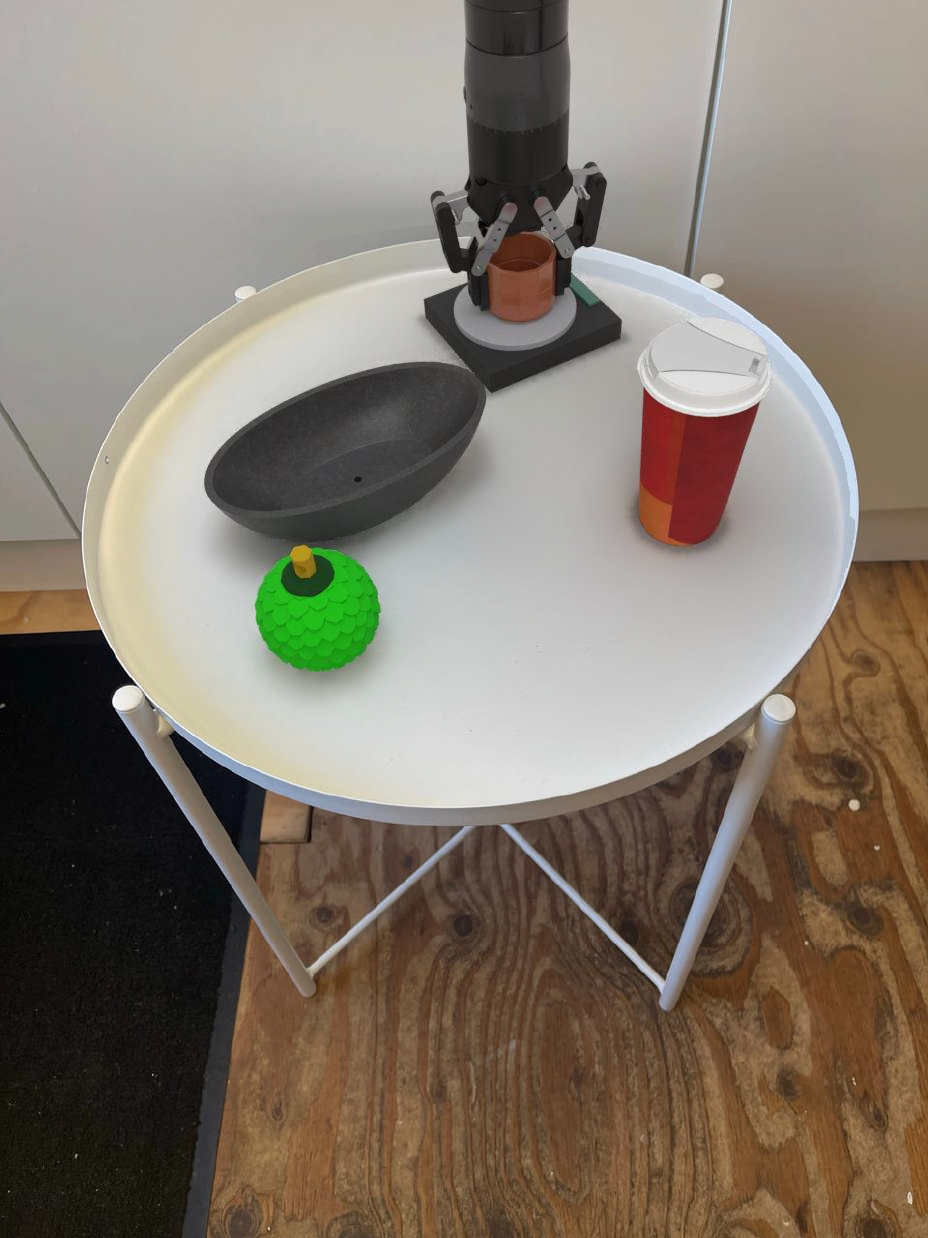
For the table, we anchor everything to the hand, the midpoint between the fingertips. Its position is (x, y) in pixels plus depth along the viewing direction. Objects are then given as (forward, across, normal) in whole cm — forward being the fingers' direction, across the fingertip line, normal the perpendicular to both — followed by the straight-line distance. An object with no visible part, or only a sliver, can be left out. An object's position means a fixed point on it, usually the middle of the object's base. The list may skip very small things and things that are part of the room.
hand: (520, 297), depth 83 cm
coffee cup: (+3, +5, -25) cm, 25 cm away
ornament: (+3, -22, -29) cm, 37 cm away
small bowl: (+1, 0, 0) cm, 1 cm away
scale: (+3, 0, 0) cm, 3 cm away
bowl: (+3, -17, -16) cm, 23 cm away
